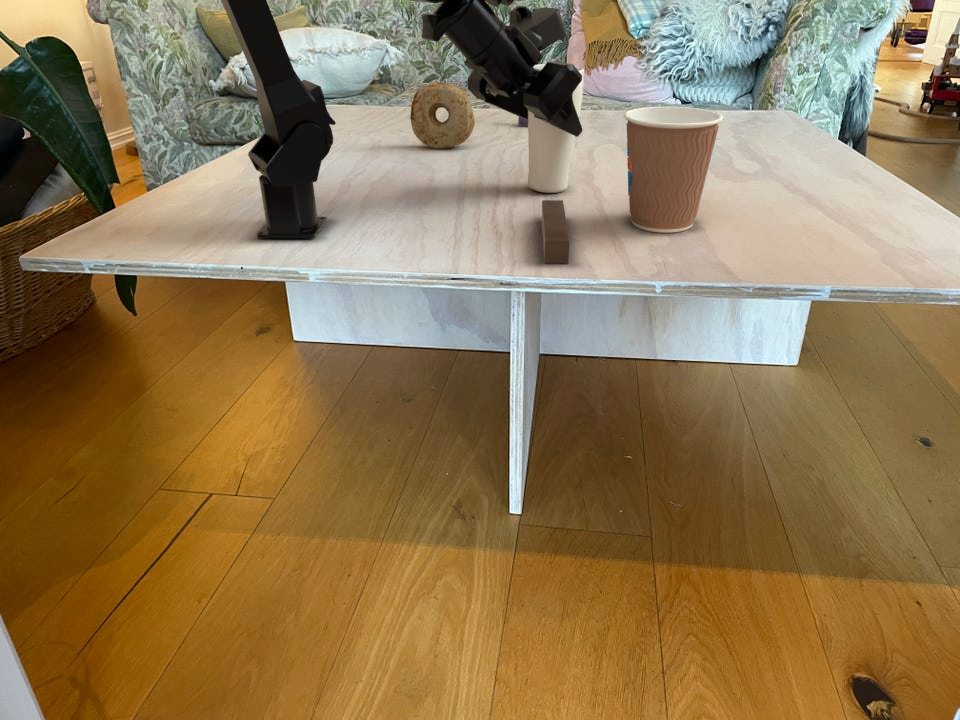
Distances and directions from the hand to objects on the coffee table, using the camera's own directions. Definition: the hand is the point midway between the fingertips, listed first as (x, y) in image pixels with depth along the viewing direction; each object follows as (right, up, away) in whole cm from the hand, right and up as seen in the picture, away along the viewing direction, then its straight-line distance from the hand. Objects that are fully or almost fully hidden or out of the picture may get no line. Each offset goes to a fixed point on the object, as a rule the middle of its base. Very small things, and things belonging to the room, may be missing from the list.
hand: (559, 127), depth 95 cm
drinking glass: (-1, -7, +3) cm, 8 cm away
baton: (-2, -17, -15) cm, 23 cm away
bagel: (-16, +5, +26) cm, 31 cm away
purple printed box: (+2, +13, +41) cm, 44 cm away
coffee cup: (+11, -14, -10) cm, 20 cm away
